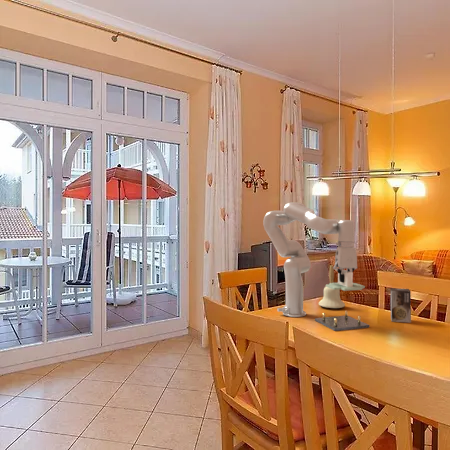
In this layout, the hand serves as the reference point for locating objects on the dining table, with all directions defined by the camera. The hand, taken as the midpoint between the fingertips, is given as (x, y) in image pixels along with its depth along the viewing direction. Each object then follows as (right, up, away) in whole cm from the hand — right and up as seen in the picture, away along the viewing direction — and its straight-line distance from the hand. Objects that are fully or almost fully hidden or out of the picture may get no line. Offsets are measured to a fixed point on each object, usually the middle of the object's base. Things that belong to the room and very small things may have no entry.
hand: (345, 281), depth 189 cm
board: (0, -3, 0) cm, 3 cm away
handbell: (+3, -21, +36) cm, 42 cm away
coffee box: (+30, -21, +6) cm, 38 cm away
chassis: (-1, -22, +2) cm, 22 cm away
